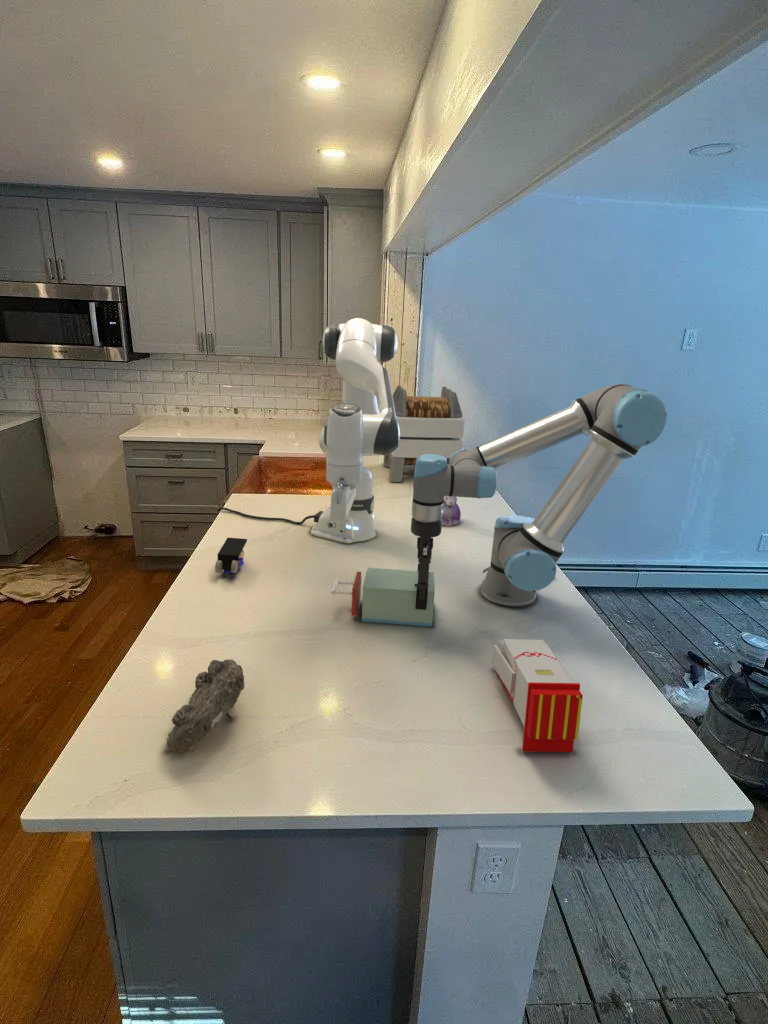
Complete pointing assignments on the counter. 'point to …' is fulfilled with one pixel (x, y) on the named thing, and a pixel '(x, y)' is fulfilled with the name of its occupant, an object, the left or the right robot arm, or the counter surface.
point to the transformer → (425, 429)
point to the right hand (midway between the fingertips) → (421, 597)
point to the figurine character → (230, 556)
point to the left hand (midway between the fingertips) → (343, 526)
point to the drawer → (355, 592)
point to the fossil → (206, 705)
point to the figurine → (450, 511)
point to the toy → (539, 694)
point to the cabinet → (395, 597)
